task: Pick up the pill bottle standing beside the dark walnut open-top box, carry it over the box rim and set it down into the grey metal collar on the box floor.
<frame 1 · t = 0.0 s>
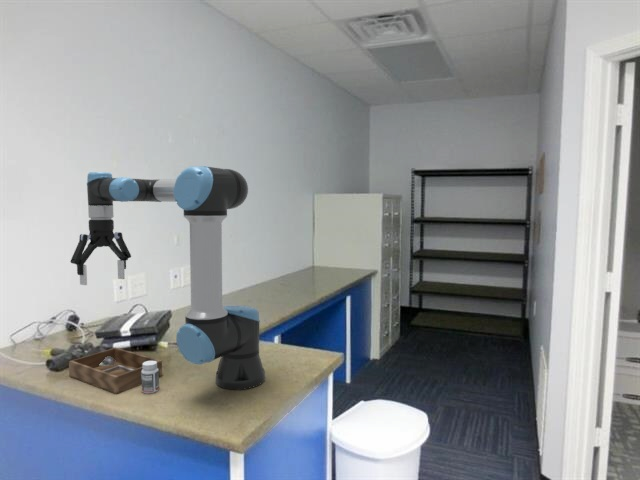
hand: (103, 281, 151), 28 cm above the counter, fingers open, 13 cm apart
pill bottle: (150, 391, 131), on the counter
box: (115, 376, 141), on the counter
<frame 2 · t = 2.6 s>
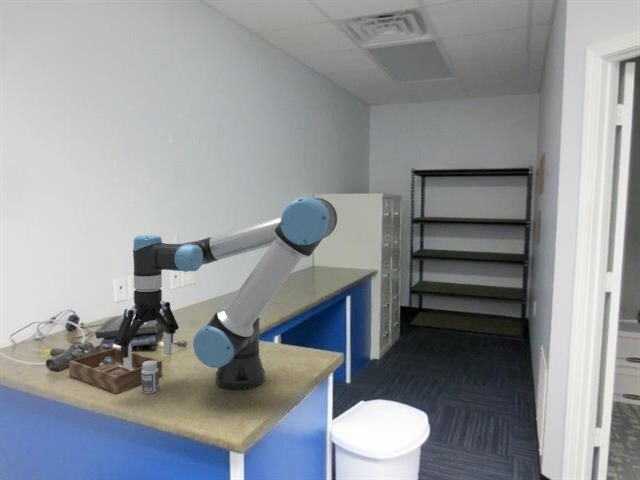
hand: (148, 360, 130), 9 cm above the counter, fingers open, 13 cm apart
nothing on the counter moved.
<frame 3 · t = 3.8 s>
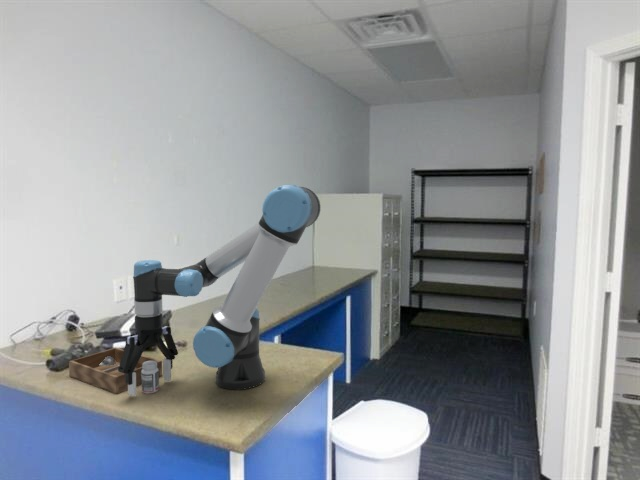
hand: (150, 387, 131), 1 cm above the counter, fingers open, 11 cm apart
nothing on the counter moved.
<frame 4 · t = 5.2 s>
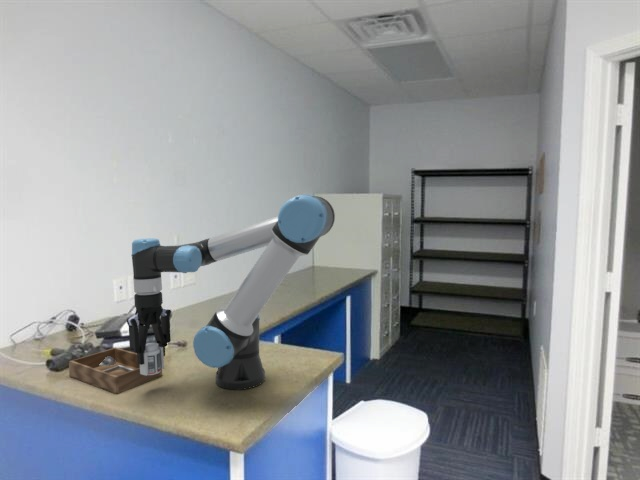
hand: (152, 371, 130), 6 cm above the counter, fingers closed on pill bottle, 5 cm apart
pill bottle: (152, 373, 130), point 5 cm above the counter, touching gripper
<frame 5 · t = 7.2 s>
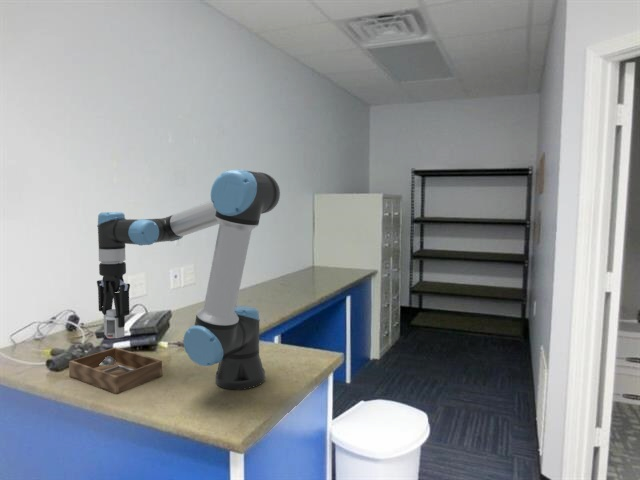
hand: (114, 335, 140), 13 cm above the counter, fingers closed on pill bottle, 5 cm apart
pill bottle: (114, 337, 140), point 13 cm above the counter, touching gripper
when the fingers open (3 cm above the counter, at t = 9.3 s): pill bottle drops 2 cm, resting on box.
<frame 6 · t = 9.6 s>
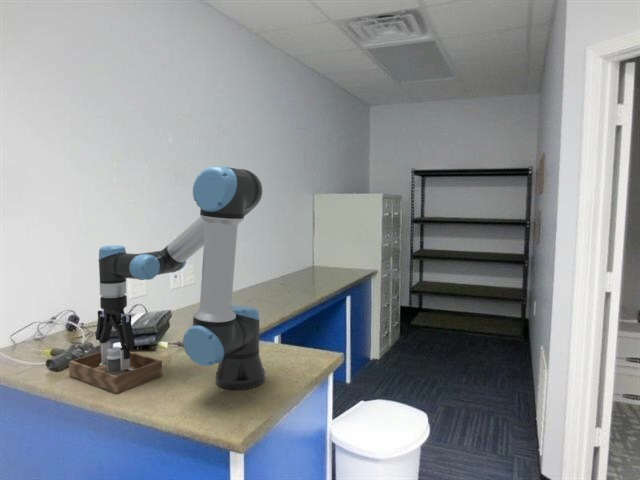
hand: (115, 365, 141), 4 cm above the counter, fingers open, 9 cm apart
pill bottle: (115, 375, 141), resting on box
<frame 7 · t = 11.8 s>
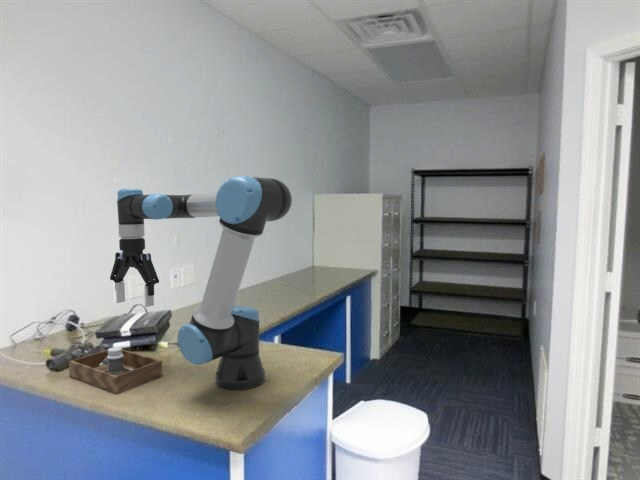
hand: (134, 304, 143), 22 cm above the counter, fingers open, 13 cm apart
nothing on the counter moved.
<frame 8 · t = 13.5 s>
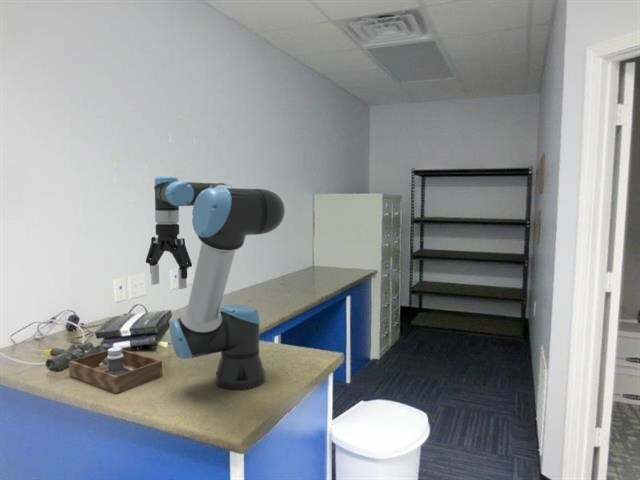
hand: (168, 286, 151), 27 cm above the counter, fingers open, 13 cm apart
nothing on the counter moved.
at the end: pill bottle 0.0 cm from the box (horizontally); pill bottle tilted 0°; pill bottle resting on box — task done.
